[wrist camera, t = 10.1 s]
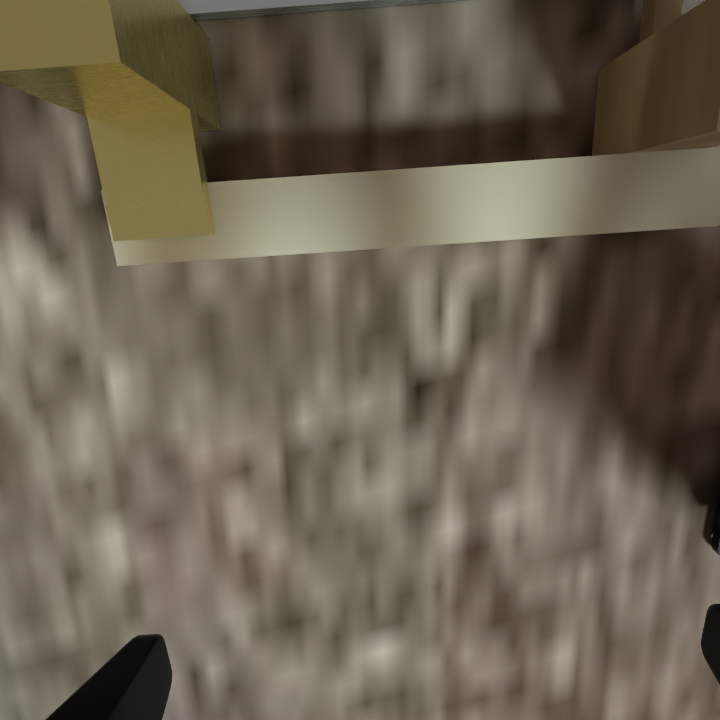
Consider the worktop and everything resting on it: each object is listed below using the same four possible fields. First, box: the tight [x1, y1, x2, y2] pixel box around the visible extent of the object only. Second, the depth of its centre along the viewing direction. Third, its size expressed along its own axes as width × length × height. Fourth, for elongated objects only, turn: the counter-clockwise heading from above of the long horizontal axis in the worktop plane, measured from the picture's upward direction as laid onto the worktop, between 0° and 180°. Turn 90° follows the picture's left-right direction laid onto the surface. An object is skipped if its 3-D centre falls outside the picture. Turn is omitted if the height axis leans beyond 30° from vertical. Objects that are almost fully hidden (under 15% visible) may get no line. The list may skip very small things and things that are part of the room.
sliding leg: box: [0, 0, 221, 241], centre depth 12 cm, size 3×11×7 cm, turn 4°
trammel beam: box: [101, 0, 720, 266], centre depth 13 cm, size 20×10×6 cm, turn 94°
